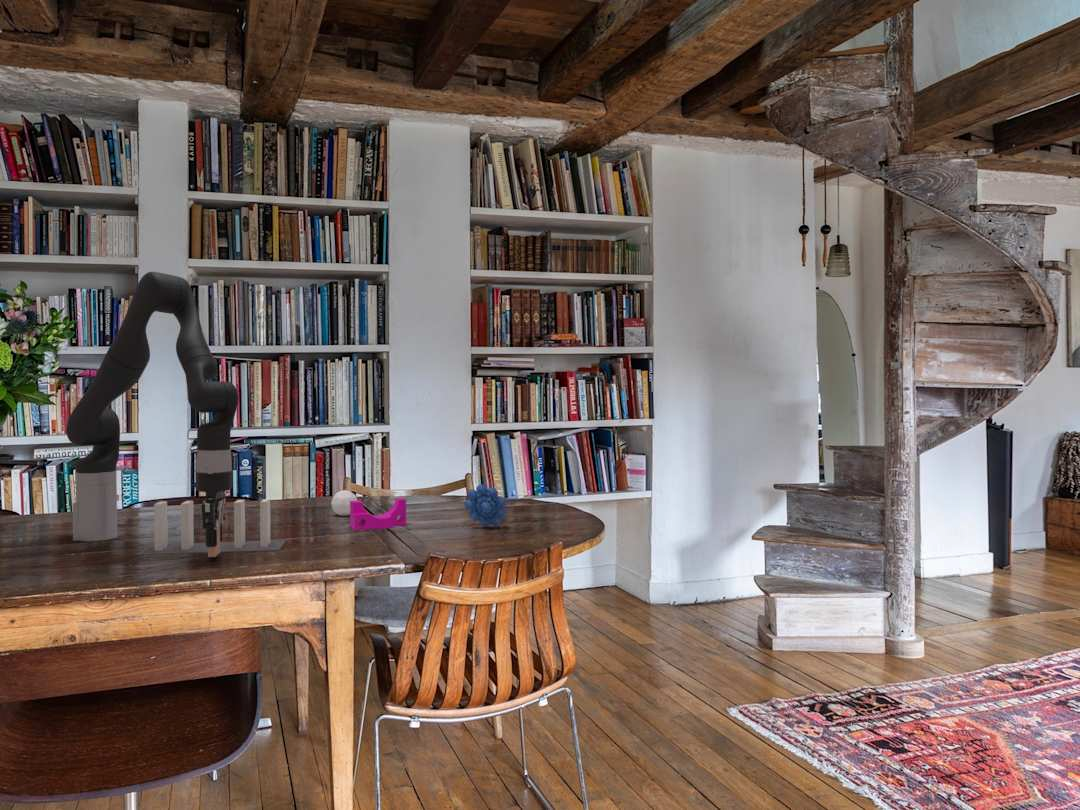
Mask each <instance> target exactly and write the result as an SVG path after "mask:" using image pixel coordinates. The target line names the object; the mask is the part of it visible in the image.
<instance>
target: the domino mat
mask: <svg viewBox="0 0 1080 810" xmlns="http://www.w3.org/2000/svg"><path fill="white" fill-rule="evenodd" d="M286 542H287V540H286V539H283V540H271V543H270V545H269V546H268V547H260V540H254V541H253V540H252V541H248V540H245V545H244V546H243V547H242V548H234V541H221V542H220V553H225V554H226V553H253V552H252V551H265V552H280V551H279V550H281V549H282V548H283V546H284V545H285V544H286ZM283 544H284V545H283ZM281 547H282V548H281ZM220 553H219V554H220ZM178 554H179V555H182V554H183V555H185V554H186V555H187V554H208V547H207V546H206V542H194V546H193V547H191V548H190V549H189V550H181V543H168V547H166V548H165V549H163V550H162V551H155V546H154V543H153V544H149V545H148V546H146V547H145V548H143V549H141V550H140V551H138V552H136V553H135V556H144V555H178Z"/></svg>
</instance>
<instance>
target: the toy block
mask: <svg viewBox="0 0 1080 810" xmlns="http://www.w3.org/2000/svg"><path fill="white" fill-rule="evenodd" d="M398 517H399V518H398ZM349 519H350V520H349V521H350V522H349V525H350V526H349V527H350V528H351V527H352V529H353V530H354V531H364V530H365V531H367V530H376V529H377V530H378V529H379V530H380V529H393V527H397V526H398V527H400V526H407V499H406V498H403V497H397V498H396V497H395V501H394V504H393V506H392V507H391V508H390V510H388V511H387V512H384V513H383V514H381V515H380V514H378V515H374V514H371V513H369V512H368V511H367V510H366V508H365V507H364V502H363V501H362V500H358V499H357V501H350V515H349Z"/></svg>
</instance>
